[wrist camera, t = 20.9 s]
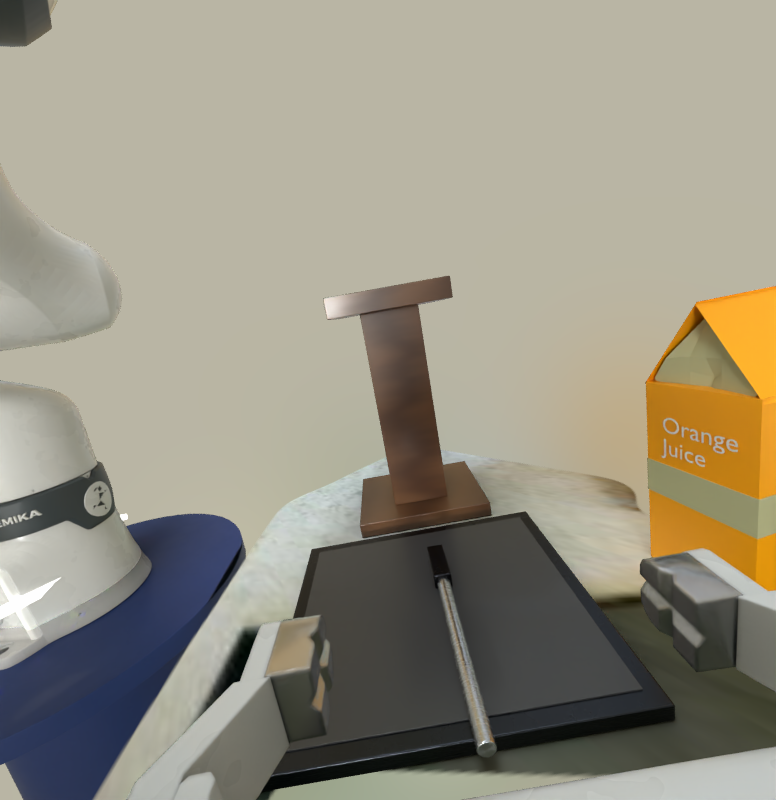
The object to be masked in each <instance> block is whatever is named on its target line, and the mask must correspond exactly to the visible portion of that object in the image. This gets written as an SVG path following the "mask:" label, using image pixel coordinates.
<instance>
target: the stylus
mask: <svg viewBox="0 0 776 800" xmlns="http://www.w3.org/2000/svg"><path fill="white" fill-rule="evenodd" d="M427 552H428V557H429V562H430V567H431V571H432V575H433V580H434V584H435V588H436V589H439V593H440V598H441V602H442V606H443V610H444V615H445V619H446V623H447V627H448V632H449V636H450V640H451V644H452V649H453V653H454V657H455V661H456V666H457V670H458V674H459V678H460V683H461V687H462V691H463V695H464V700H465V704H466V708H467V712H468V717H469V721H470V725H471V729H472V734H473V738H474V742H475V746H476V751H477V753H478V754H479V755H480V756H481V757H485V758H487V757H491V756H493V755H494V754H495V753H496V751H497V745H496V742H495V738H494V735H493V731H492V728H491V724H490V721H489V717H488V714H487V710H486V707H485V703H484V700H483V696H482V693H481V689H480V686H479V682H478V679H477V675H476V672H475V668H474V665H473V661H472V658H471V654H470V650H469V647H468V643H467V640H466V636H465V633H464V629H463V626H462V622H461V619H460V615H459V612H458V608H457V605H456V601H455V598H454V594H453V591H452V587H451V586H453V583H452V576H451V572H450V568H449V565H448V562H447V558H446V555H445V552H444V548H443V545H442V544H440V545H435V546H429V547H427Z"/></svg>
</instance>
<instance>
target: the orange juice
mask: <svg viewBox="0 0 776 800" xmlns="http://www.w3.org/2000/svg"><path fill="white" fill-rule="evenodd" d="M646 398H647V432H648V458H647V462H648V489H649V498H650V533H651V556H652V557H653V558H654V557H659V556H665V555H671V554H676V553H682V552H684V551H689V550H695V549H700V548H704V549H707V550H710V551H711V552H713V553H714V554H716V555H717V556H718V557H720V558H721V559H723V560H724V561H726V562H727V563H728V564H730V565H731V566H733V567H734V568H736V569H737V570H738V571H740V572H741V573H743V574H744V575H746V576H747V577H749V578H750V579H751V580H753V581H754V582H756V583H757V584H759V585H760V586H761V587H763V588H764V589H766V590H767V591H774V590H776V286H775V287H769V288H764V289H759V290H754V291H749V292H744V293H740V294H734V295H729V296H725V297H720V298H714V299H710V300H704V301H700V302H696V304H695V306H694V307H693V309H692V310H691V312H690V314H689V315H688V317H687V318H686V320H685V322H684V323H683V325H682V326H681V328H680V329H679V331H678V332H677V334H676V336H675V337H674V339H673V340H672V342H671V343H670V345H669V347H668V348H667V350H666V351H665V353H664V355H663V356H662V358H661V359H660V361H659V362H658V364H657V365H656V367H655V369H654V370H653V372H652V373H651V375H650V376H649V378H648V380H647V381H646Z"/></svg>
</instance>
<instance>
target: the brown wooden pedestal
mask: <svg viewBox="0 0 776 800" xmlns="http://www.w3.org/2000/svg"><path fill="white" fill-rule="evenodd" d="M452 297H453V296H452V289H451V281H450V276H444V277H439V278H433V279H427V280H422V281H416V282H411V283H406V284H400V285H394V286H389V287H383V288H378V289H372V290H367V291H361V292H356V293H350V294H345V295H339V296H334V297H328V298H323V301H324V306H325V311H326V316H327V319H328V320H331V319H341V318H347V317H352V316H358V315H360V318H361V323H362V329H363V334H364V339H365V345H366V350H367V355H368V360H369V365H370V371H371V377H372V382H373V387H374V393H375V398H376V403H377V409H378V414H379V419H380V425H381V430H382V435H383V441H384V446H385V451H386V457H387V462H388V467H389V473H390V475H384V476H379V477H373V478H367V479H363V492H362V506H361V520H360V528H361V532H362V537H363V538H364V537H370V536H375V535H381V534H387V533H392V532H398V531H403V530H409V529H415V528H420V527H426V526H432V525H437V524H443V523H449V522H454V521H460V520H466V519H471V518H477V517H482V516H488V515H491V507H490V502H489V500H488V499H487V497H486V496H485V494H484V492H483V491H482V489H481V487H480V486H479V484H478V482H477V481H476V479H475V478H474V476H473V474H472V473H471V471H470V469H469V468H468V466H467V465H466V463H465V461H463V462H457V463H452V464H446V465H443V463H442V457H441V450H440V444H439V437H438V431H437V425H436V418H435V411H434V405H433V400H432V392H431V386H430V379H429V373H428V366H427V360H426V353H425V347H424V340H423V334H422V328H421V321H420V315H419V308H418V305H419V304H425V303H430V302H435V301H439V300H444V299H448V298H452Z"/></svg>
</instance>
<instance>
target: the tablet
mask: <svg viewBox="0 0 776 800" xmlns="http://www.w3.org/2000/svg"><path fill="white" fill-rule="evenodd" d="M440 544H442V545H443V548H444V552H445V555H446V558H447V562H448V565H449V568H450V572H451V576H452V583H453V586H451V587H452V591H453V594H454V598H455V601H456V605H457V608H458V612H459V615H460V619H461V622H462V626H463V629H464V633H465V636H466V640H467V643H468V647H469V650H470V654H471V658H472V661H473V665H474V668H475V672H476V675H477V679H478V682H479V686H480V689H481V693H482V696H483V700H484V703H485V707H486V710H487V714H488V717H489V721H490V724H491V728H492V731H493V735H494V738H495V742H496V745H497V751H499V750H505V749H510V748H516V747H522V746H528V745H533V744H539V743H545V742H551V741H556V740H562V739H568V738H574V737H579V736H585V735H591V734H597V733H602V732H608V731H614V730H620V729H625V728H631V727H637V726H643V725H648V724H654V723H660V722H666V721H671V720H674V719H675V706H674V704H673V703H672V701H671V700H670V699H669V697H668V696H667V695H666V693H665V692H664V691H663V690H662V688H661V687H660V686H659V684H658V683H657V682H656V680H655V679H654V678H653V677H652V675H651V674H650V673H649V671H648V670H647V669H646V667H645V666H644V665H643V664H642V662H641V661H640V660H639V658H638V657H637V656H636V654H635V653H634V652H633V651H632V649H631V648H630V647H629V645H628V644H627V643H626V641H625V640H624V639H623V638H622V636H621V635H620V634H619V632H618V631H617V630H616V628H615V627H614V626H613V625H612V623H611V622H610V621H609V619H608V618H607V617H606V615H605V614H604V613H603V612H602V610H601V609H600V608H599V606H598V605H597V604H596V602H595V601H594V600H593V599H592V597H591V596H590V595H589V593H588V592H587V591H586V589H585V588H584V587H583V586H582V584H581V583H580V582H579V580H578V579H577V578H576V576H575V575H574V574H573V573H572V571H571V570H570V569H569V567H568V566H567V565H566V563H565V562H564V561H563V560H562V558H561V557H560V556H559V554H558V553H557V552H556V550H555V549H554V548H553V547H552V545H551V544H550V543H549V541H548V540H547V539H546V537H545V536H544V535H543V534H542V532H541V531H540V530H539V528H538V527H537V526H536V524H535V523H534V522H533V521H532V519H531V518H530V517H529V515H528V514H527V513H526V512H520V513H514V514H508V515H503V516H497V517H491V518H486V519H480V520H474V521H469V522H463V523H458V524H452V525H446V526H441V527H435V528H429V529H424V530H418V531H412V532H407V533H401V534H396V535H390V536H384V537H379V538H373V539H367V540H362V541H356V542H350V543H345V544H339V545H333V546H328V547H322V548H317V549H312V551H311V554H310V558H309V562H308V565H307V569H306V573H305V576H304V580H303V584H302V588H301V591H300V595H299V599H298V602H297V606H296V610H295V613H294V617H293V619H295V618H302V617H308V616H315V615H322V616H323V617H324V620H325V624H326V635H325V639H326V640H328V641H329V642H330V644H331V648H332V654H333V665H334V677H333V687H332V688H331V690H330V691H329V692H328V697H329V702H330V713H329V721H328V730H327V735H325V736H320V737H315V738H310V739H306V740H301V741H296V742H291V743H289V745H290V746H289V747H288V749H287V751H286V752H285V754H284V755H283V757H282V759H281V760H280V762H279V764H278V765H277V767H276V768H275V770H274V772H273V773H272V775H271V777H270V778H269V780H268V781H267V783H266V785H265V786H264V788H263V790H262V791H261V792H263V791H269V790H275V789H280V788H286V787H292V786H298V785H303V784H309V783H314V782H320V781H326V780H332V779H338V778H343V777H349V776H355V775H360V774H367V773H372V772H378V771H384V770H390V769H395V768H401V767H407V766H413V765H418V764H424V763H430V762H436V761H441V760H447V759H453V758H459V757H464V756H470V755H476V754H478V753H477V751H476V746H475V742H474V738H473V734H472V729H471V725H470V721H469V717H468V712H467V708H466V704H465V700H464V695H463V691H462V687H461V683H460V678H459V674H458V670H457V666H456V661H455V657H454V653H453V649H452V644H451V640H450V636H449V632H448V627H447V623H446V619H445V615H444V610H443V606H442V602H441V598H440V593H439V589H436V588H435V584H434V580H433V575H432V571H431V567H430V562H429V557H428V552H427V547H429V546H435V545H440Z"/></svg>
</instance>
